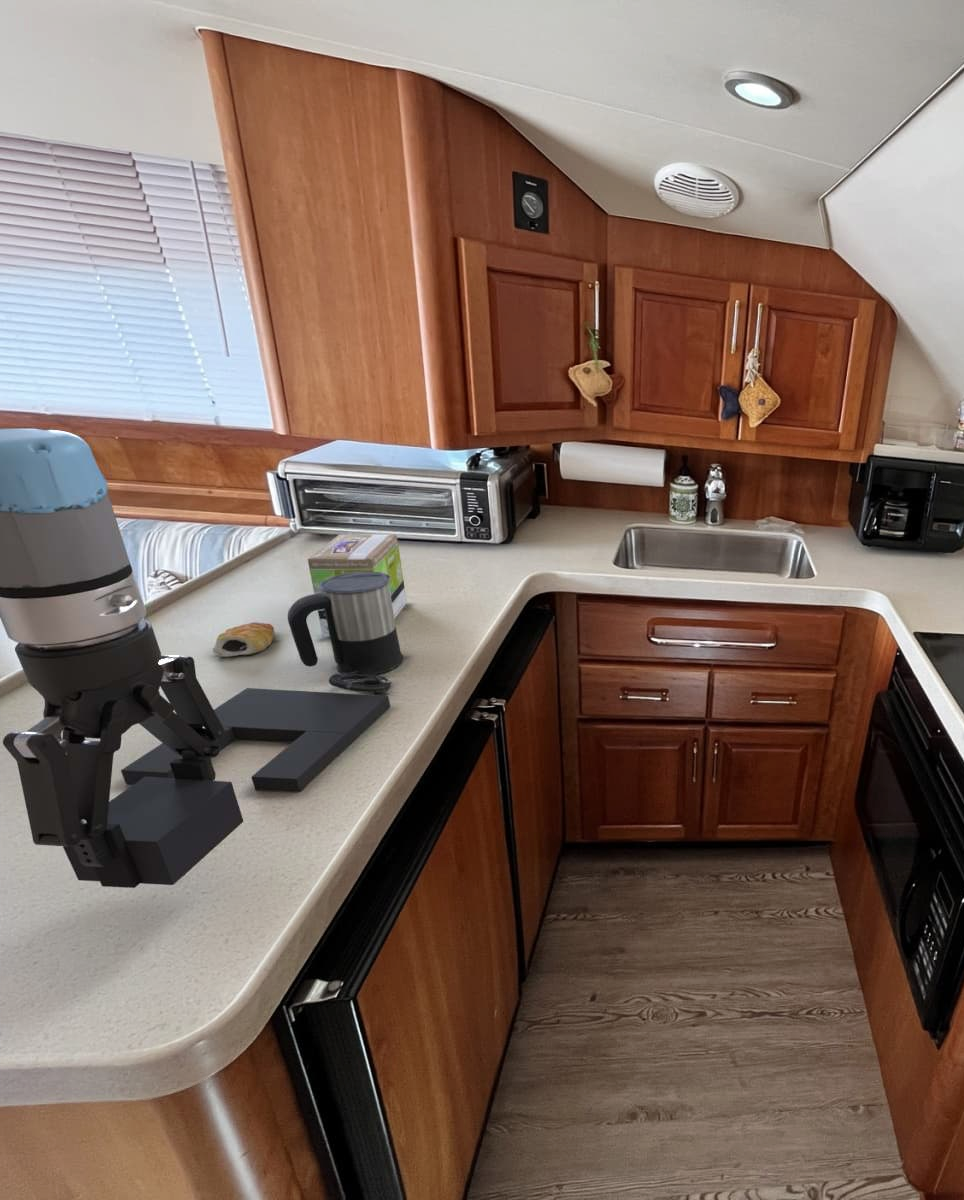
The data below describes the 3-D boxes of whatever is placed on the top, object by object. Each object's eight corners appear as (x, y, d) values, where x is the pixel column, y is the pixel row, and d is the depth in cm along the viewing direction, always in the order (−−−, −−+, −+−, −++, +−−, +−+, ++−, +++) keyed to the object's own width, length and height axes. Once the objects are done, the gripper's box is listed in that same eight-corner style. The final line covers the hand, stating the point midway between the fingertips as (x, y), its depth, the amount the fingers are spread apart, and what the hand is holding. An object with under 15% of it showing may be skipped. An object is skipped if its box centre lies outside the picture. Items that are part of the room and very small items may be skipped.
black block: (77, 880, 56) (57, 836, 54) (160, 816, 63) (145, 776, 61) (173, 885, 56) (156, 842, 54) (244, 821, 64) (231, 781, 62)
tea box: (386, 635, 114) (372, 557, 108) (321, 638, 111) (303, 558, 105) (409, 602, 127) (397, 532, 121) (351, 604, 124) (336, 532, 118)
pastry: (241, 633, 110) (236, 613, 109) (287, 632, 112) (282, 612, 111) (211, 658, 102) (205, 637, 100) (261, 657, 104) (256, 636, 102)
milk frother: (382, 646, 110) (367, 566, 104) (443, 671, 104) (430, 588, 98) (291, 680, 98) (268, 592, 92) (354, 711, 92) (333, 618, 86)
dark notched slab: (125, 784, 75) (120, 770, 74) (250, 699, 93) (246, 687, 92) (300, 792, 76) (296, 778, 75) (390, 707, 94) (388, 695, 93)
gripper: (-18, 702, 41) (98, 947, 50) (236, 585, 61) (288, 777, 69) (-142, 694, 41) (-3, 943, 50) (153, 579, 60) (216, 773, 69)
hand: (166, 846), depth 59 cm, fingers closed on black block, 8 cm apart
